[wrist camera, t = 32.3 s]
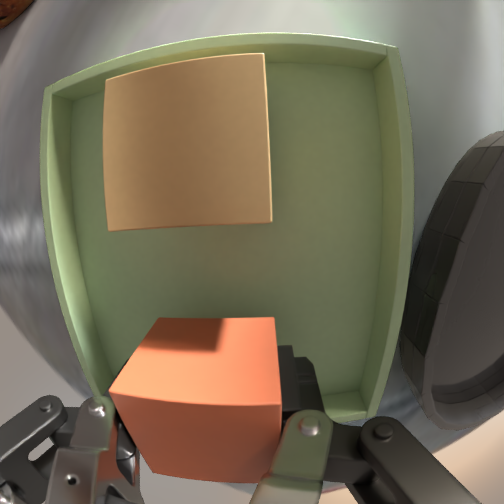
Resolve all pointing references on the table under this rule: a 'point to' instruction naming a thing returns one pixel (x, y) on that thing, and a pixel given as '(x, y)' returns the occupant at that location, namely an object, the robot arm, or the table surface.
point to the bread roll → (11, 10)
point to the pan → (460, 296)
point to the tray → (251, 235)
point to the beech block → (188, 145)
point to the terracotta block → (204, 398)
